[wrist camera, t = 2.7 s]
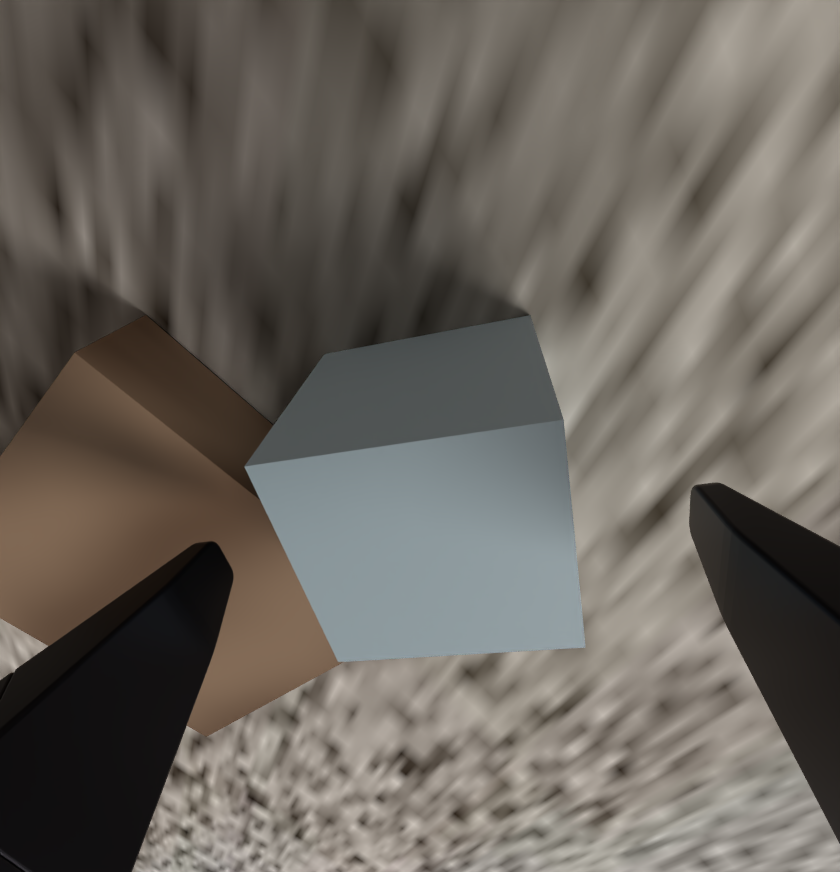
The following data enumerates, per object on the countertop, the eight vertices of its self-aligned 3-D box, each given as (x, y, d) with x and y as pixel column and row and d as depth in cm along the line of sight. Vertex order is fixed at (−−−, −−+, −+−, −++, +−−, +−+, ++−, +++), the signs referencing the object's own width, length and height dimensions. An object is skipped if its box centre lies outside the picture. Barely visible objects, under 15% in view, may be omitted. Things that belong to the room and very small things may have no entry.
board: (423, 555, 15) (414, 623, 13) (235, 670, 19) (206, 736, 17) (146, 315, 12) (74, 352, 10) (-8, 514, 16) (-82, 570, 14)
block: (529, 314, 11) (563, 419, 7) (550, 489, 14) (584, 647, 9) (324, 353, 12) (244, 467, 8) (378, 510, 15) (337, 661, 10)
